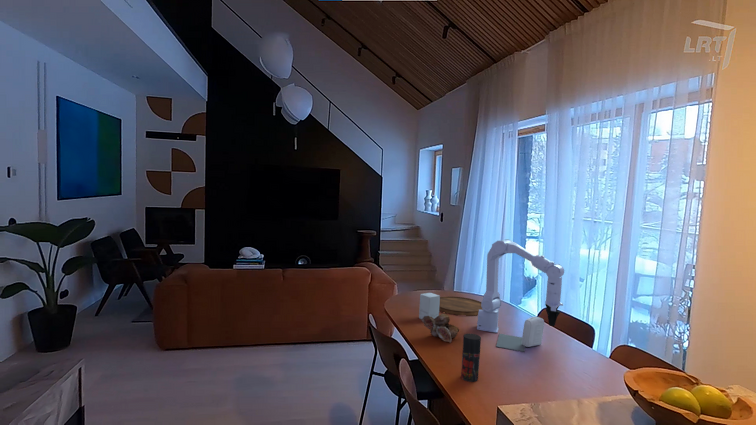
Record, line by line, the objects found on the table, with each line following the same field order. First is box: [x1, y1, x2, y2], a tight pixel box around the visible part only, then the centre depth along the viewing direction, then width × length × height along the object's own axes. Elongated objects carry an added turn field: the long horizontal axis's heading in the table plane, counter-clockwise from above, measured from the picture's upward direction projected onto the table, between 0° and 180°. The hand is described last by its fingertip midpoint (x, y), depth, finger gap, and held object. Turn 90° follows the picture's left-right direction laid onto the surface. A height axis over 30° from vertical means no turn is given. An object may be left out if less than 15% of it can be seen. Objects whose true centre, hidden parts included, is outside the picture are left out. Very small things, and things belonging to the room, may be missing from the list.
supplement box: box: [418, 292, 441, 320], centre depth 209 cm, size 7×7×13 cm
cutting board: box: [439, 295, 483, 317], centre depth 233 cm, size 32×32×2 cm
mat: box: [495, 333, 526, 353], centre depth 182 cm, size 12×17×1 cm
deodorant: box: [460, 333, 482, 383], centre depth 145 cm, size 6×6×15 cm
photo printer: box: [521, 316, 545, 348], centre depth 180 cm, size 10×4×12 cm, turn 124°
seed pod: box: [420, 313, 460, 344], centre depth 184 cm, size 13×16×15 cm
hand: (551, 323), depth 179 cm, fingers open, 7 cm apart
